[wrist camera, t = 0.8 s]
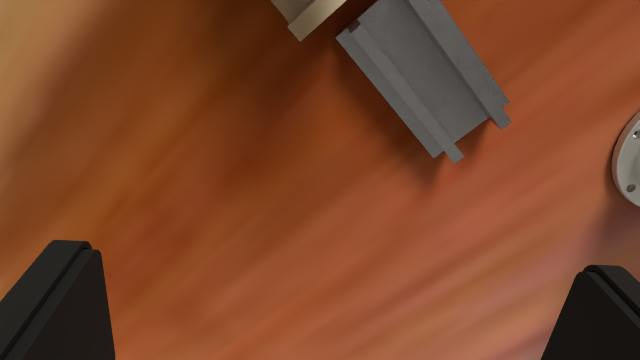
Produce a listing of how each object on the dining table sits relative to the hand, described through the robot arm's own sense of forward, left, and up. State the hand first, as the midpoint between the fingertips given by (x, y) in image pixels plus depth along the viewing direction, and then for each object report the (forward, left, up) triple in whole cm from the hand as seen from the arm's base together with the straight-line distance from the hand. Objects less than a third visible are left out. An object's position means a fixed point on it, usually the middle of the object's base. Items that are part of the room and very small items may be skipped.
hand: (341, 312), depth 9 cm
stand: (-6, +8, -32) cm, 33 cm away
